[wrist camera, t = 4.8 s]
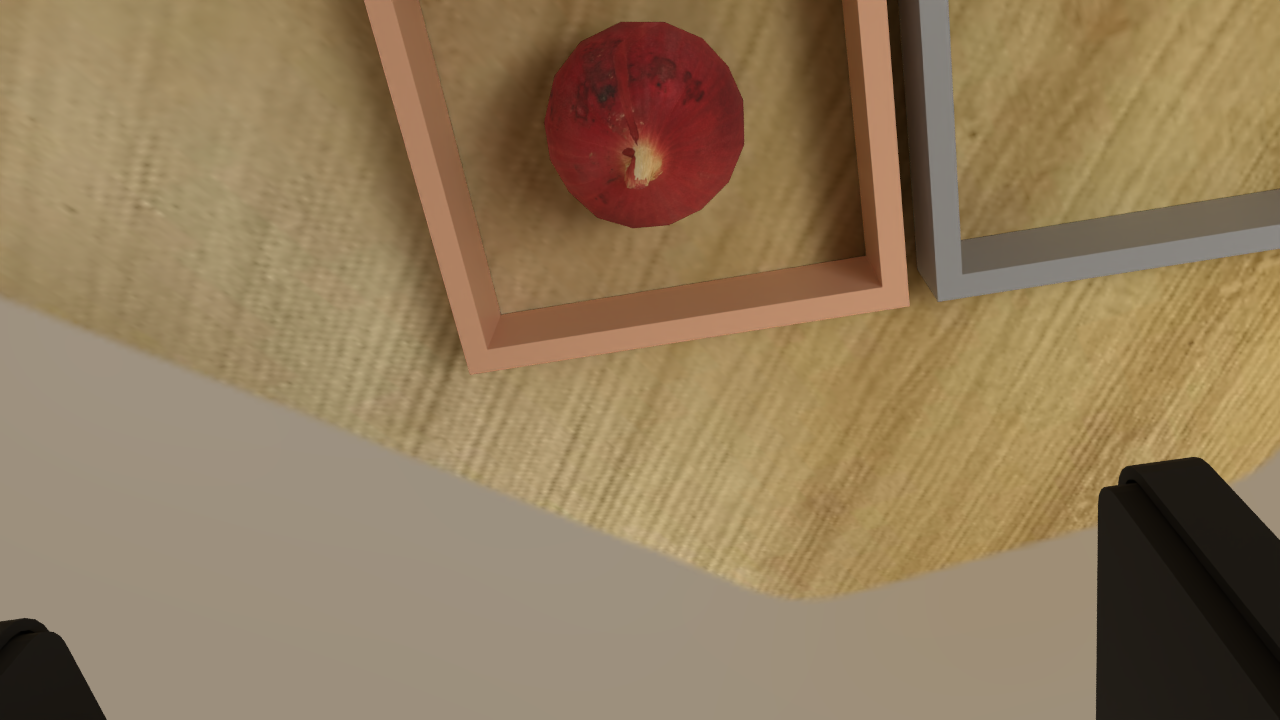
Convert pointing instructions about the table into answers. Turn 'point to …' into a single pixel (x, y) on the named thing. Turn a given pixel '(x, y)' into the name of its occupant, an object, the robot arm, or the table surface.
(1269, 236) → the frame
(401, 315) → the table surface
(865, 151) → the terracotta crate
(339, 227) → the table surface
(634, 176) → the onion
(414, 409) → the table surface
